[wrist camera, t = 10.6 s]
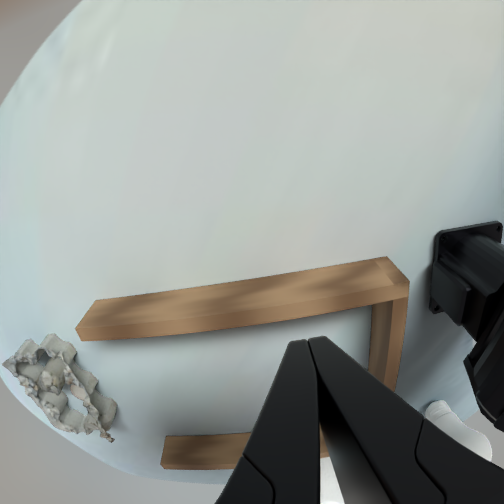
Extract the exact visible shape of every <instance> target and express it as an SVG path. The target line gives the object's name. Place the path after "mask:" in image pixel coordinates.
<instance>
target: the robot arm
mask: <svg viewBox="0 0 504 504" xmlns="http://www.w3.org/2000/svg"><path fill="white" fill-rule="evenodd" d="M502 230H503V225H502V223H500V222H498V221H492V222H487V223H481V224H475V225H470V226H464V227H458V228H452V229H447V230H441V231H439V232H438V234H437V235H436V244H435V258H434V264H433V271H432V281H431V289H430V295H431V297H430V304H429V309H430V311H431V312H432V313H433V314H437V313H440V312H444V311H445V312H446V313H447V314H448V315H449V317H450V318H451V319H452V320H453V321H454V322H455V323H456V324H457V325H458V326H461V325H462V326H463V327H464V328H465V329H466V330H467V332H468V333H469V334H470V335H471V336H472V338H473V339H474V340H475V341H476V342H477V343H476V344H475V346H474V348H473V349H472V351H471V352H470V354H468V355H467V356H466V358H465V360H464V361H463V362H464V365H465V368H466V371H467V374H468V376H469V379H470V382H471V385H472V388H473V392H474V395H475V398H476V401H477V404H478V406H479V408H480V411H481V413H482V414H483V415H484V416H485V417H486V418H487V419H488V420H489V421H490V422H491V423H493V424H494V427H495V428H497V429H499V430H501V431H502V432H504V245H503V244H501V239H502ZM443 236H444V239H443V240H442V237H443ZM435 307H436V308H435ZM423 419H424V416H423V415H422V414H420V413H419V412H418V411H417V410H415V409H414V408H413V407H412V406H410V405H409V404H408V403H407V402H405V401H404V400H403V399H402V398H400V397H399V396H398V395H397V394H395V393H394V392H393V391H392V390H391V389H389V388H388V387H387V386H386V385H384V384H383V383H382V382H381V381H379V380H378V379H377V378H376V377H375V376H373V375H372V374H371V373H370V372H368V371H367V370H366V369H365V368H364V367H362V366H361V365H360V364H359V363H358V362H356V361H355V360H354V359H353V358H351V357H350V356H349V355H348V354H347V353H345V352H344V351H343V350H342V349H341V348H339V347H338V346H337V345H336V344H335V343H333V342H332V341H331V340H330V339H328V338H327V337H326V336H319V337H314V338H309V339H308V341H307V340H305V339H302V340H296V341H291V342H289V344H288V346H287V349H286V351H285V354H284V356H283V359H282V361H281V364H280V366H279V369H278V371H277V374H276V376H275V379H274V381H273V383H272V386H271V388H270V391H269V393H268V395H267V398H266V400H265V403H264V405H263V407H262V410H261V412H260V414H259V416H258V419H257V421H256V423H255V426H254V428H253V430H252V432H251V435H250V437H249V439H248V441H247V443H246V446H245V448H244V450H243V452H242V456H241V457H240V458H239V460H238V462H237V464H236V467H235V469H234V471H233V473H232V475H231V476H230V478H229V480H228V482H227V484H226V486H225V488H224V489H223V491H222V493H221V495H220V496H219V498H218V499H217V501H216V502H215V504H320V490H321V466H320V427H321V431H322V434H323V437H324V440H325V443H326V447H327V450H328V453H329V456H330V459H331V462H332V465H333V468H334V472H335V475H336V478H337V481H338V484H339V487H340V490H341V494H342V497H343V500H344V503H345V504H504V469H502V468H501V467H499V466H497V465H495V464H493V463H492V462H490V461H488V460H486V459H485V458H483V457H481V456H479V455H478V454H476V453H474V452H473V451H471V450H470V449H468V448H466V447H465V446H463V445H462V444H460V443H459V442H457V441H456V440H454V439H453V438H452V437H450V436H449V435H447V434H446V433H445V432H443V431H442V430H441V429H439V428H438V427H437V426H436V425H434V424H433V423H432V422H430V421H429V420H428V419H427V418H425V419H424V420H423Z"/></svg>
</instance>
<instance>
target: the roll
mask: <svg viewBox="0 0 504 504" xmlns="http://www.w3.org/2000/svg"><path fill="white" fill-rule="evenodd" d="M320 466H321V490H320V504H345V503H344V500H343V497H342V494H341V490H340V487H339V484H338V481H337V478H336V475H335V472H334V468H333V465H332V462H331V459H330V457H326V458H321V459H320Z"/></svg>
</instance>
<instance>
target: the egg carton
mask: <svg viewBox="0 0 504 504" xmlns="http://www.w3.org/2000/svg"><path fill="white" fill-rule="evenodd" d="M45 351H46V352H47V354H48V356H50V357H51V358H50V359H49V361H48V362H47V364H46V365H45V367H44V366H43V365H41V364H40V363H39V362H38V360H39V359H40V357H41V356H42V354H43V353H44V352H45ZM76 353H77V351H76V349H75V348H74V346H73V345H72V344H71V343H70V342H65V341H63V340H61V339H60V338H59V337H58V336H57V335H56V334H55V333H51V334H48V335H47V336H46V338H45V339H44V340H43V342H42V343H41V344H40V346H39V345H37V344H36V343H35V342H34V341H33V340H32V339H28V340H25V342H24V343H23V344H22V345H21V347H20V348H19V350H18V351H17V352H16V353H15V355H14V356H11V357H10V358H9V359H8V360H6V361H5V362H4V363H3V364H2V365H3V366H4V367H5V368H7V369H8V370H9V371H10V372H11V373H12V374H13V376H14V377H17V378H18V379H19V381H20V385H22V386H24V387H25V392H26V395H28V396H30V397H31V398H32V399H33V400H34V402H35V403H36V404H37V406H39V407H40V408H41V409H42V410H43V411H44V413H45V414H46V416H47V418H48V419H49V421H50V423H51V424H52V425H53V426H54V427H56V428H58V429H60V430H63V431H66V432H75V433H76V434H78V433H79V432H86V435H88V434H90V433H91V432H92V431H93V430H100V432H101V434H100V437H102V438H106V439H107V440H109V441H108V442H111V443H112V442H113V441H114V440H115V439H113V438H111V437H110V434H108V433H106V431H108V430H109V429H110V427H111V425H112V422H113V420H114V417H115V414H116V413H115V412H116V408H117V403H116V402H115V401H114V400H113V399H112V398H108V397H105V396H103V395H101V394H100V393H99V392H98V391H97V390H96V389H95V386H96V384H97V382H98V380H97V378H96V377H95V376H94V375H93V374H92V373H91V372H87V371H85V370H82V369H81V368H80V367H79V366H78V365H77V364H76V363H75V361H74V359H73V357H74V355H75V354H76ZM58 357H61V359H60V358H58ZM65 383H66V384H68V385H71V384H72V385H71V386H70V390H71V392H72V394H73V395H74V396H75V397H77V398H78V399H80V400H83V401H84V402H83V406H84V407H86V408H87V410H88V415H87V416H85V415H83V414H82V413H81V412H79V411H77V410H74V409H70V408H69V407H68V406H67V405H66V403H67V401H68V397H67V395H66V394H65V393H64V392H63V391H62V388H63V386H64V384H65Z"/></svg>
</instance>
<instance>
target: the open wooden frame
mask: <svg viewBox="0 0 504 504" xmlns="http://www.w3.org/2000/svg"><path fill="white" fill-rule="evenodd" d="M409 284H410V281H409V280H408V279H407V278H406V277H405V275H404V274H403V273H402V272H401V271H400V270H399V269H398V268H397V267H396V266H395V265H394V264H393V262H392V261H391V260H390V259H389V258H388V257H387V256H386V257H380V258H374V259H369V260H363V261H358V262H352V263H346V264H340V265H334V266H329V267H323V268H317V269H311V270H305V271H299V272H292V273H286V274H280V275H274V276H267V277H261V278H254V279H248V280H241V281H235V282H228V283H221V284H215V285H208V286H201V287H194V288H187V289H180V290H172V291H165V292H158V293H150V294H143V295H135V296H127V297H119V298H111V299H103V300H96V301H95V302H94V303H93V305H92V306H91V307H90V309H89V310H88V311H87V313H86V314H85V316H84V317H83V318H82V320H81V321H80V323H79V324H78V325H77V327H76V328H75V329H76V331H77V333H78V335H79V337H80V339H81V341H99V340H115V339H130V338H143V337H154V336H165V335H176V334H185V333H195V332H204V331H212V330H220V329H228V328H236V327H243V326H250V325H257V324H264V323H271V322H278V321H284V320H290V319H296V318H302V317H308V316H314V315H319V314H325V313H330V312H336V311H341V310H346V309H351V308H356V307H361V306H366V305H371V304H372V322H371V340H370V354H369V366H368V372H370V373H371V374H372V375H373V376H375V377H376V378H377V379H378V380H379V381H381V382H382V383H383V384H384V385H386V386H387V387H388V388H389V389H391V390H392V391H393V392H395V387H396V381H397V376H398V371H399V365H400V359H401V353H402V346H403V339H404V332H405V324H406V315H407V306H408V296H409ZM250 435H251V432H249V433H238V434H224V435H204V436H166V439H165V443H164V448H163V453H162V458H161V463H160V464H161V466H162V467H163V468H164V469H177V470H216V469H235V467H236V464H237V462H238V460H239V458H240V457H241V456H242V452H243V450H244V448H245V446H246V443H247V441H248V439H249V437H250ZM326 457H330V456H329V453H328V450H327V447H326V443H325V440H324V437H323V434H322V431H321V427H320V459H321V458H326Z"/></svg>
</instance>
